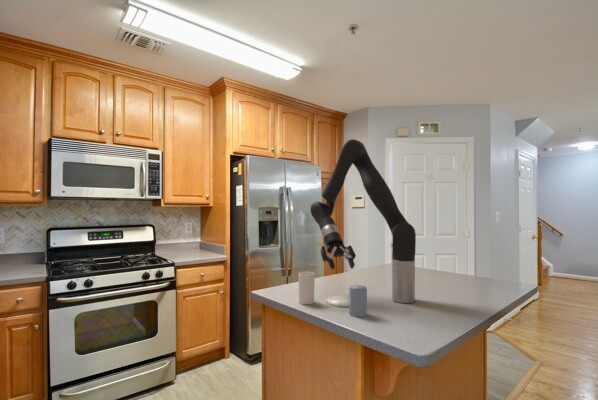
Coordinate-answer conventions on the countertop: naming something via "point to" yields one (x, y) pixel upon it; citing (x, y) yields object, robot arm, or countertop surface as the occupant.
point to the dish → (338, 301)
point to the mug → (306, 287)
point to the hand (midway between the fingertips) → (343, 267)
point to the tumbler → (357, 301)
